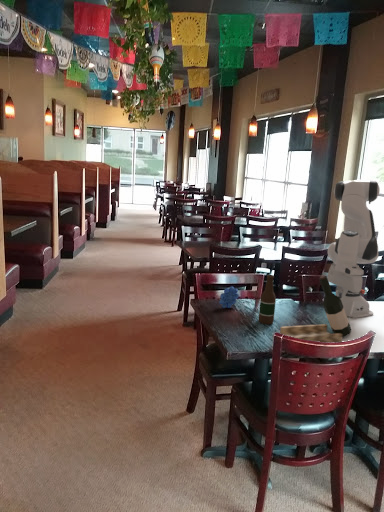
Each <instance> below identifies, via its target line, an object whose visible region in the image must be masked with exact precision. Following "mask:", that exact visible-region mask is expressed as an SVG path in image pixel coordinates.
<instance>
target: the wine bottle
mask: <svg viewBox="0 0 384 512" xmlns="http://www.w3.org/2000/svg"><path fill="white" fill-rule="evenodd" d="M327 277H328V276H326V275H321V276H319V280H318V281H319V282H320V285H321V288H322V290H323V293H324V298H323V301H322V307H323V310H324V313H325V314H326V318H327V320H328V323H329V326H330V329H331V330H332V334H336V333H341V334H343V335H342V338H345V337H347V336H348V335H349V336H350V334H351V333H352V327H351V325H350V322H349V319H348V318H349V317H348V316H347V315H346V313H345V310H344V307H343V304H342V301H341V299H340V298H338V297H337V296H336V294H334V292H333V291H332V290H333V289H332V287H331V285H330V282H328V279H327Z"/></svg>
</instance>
